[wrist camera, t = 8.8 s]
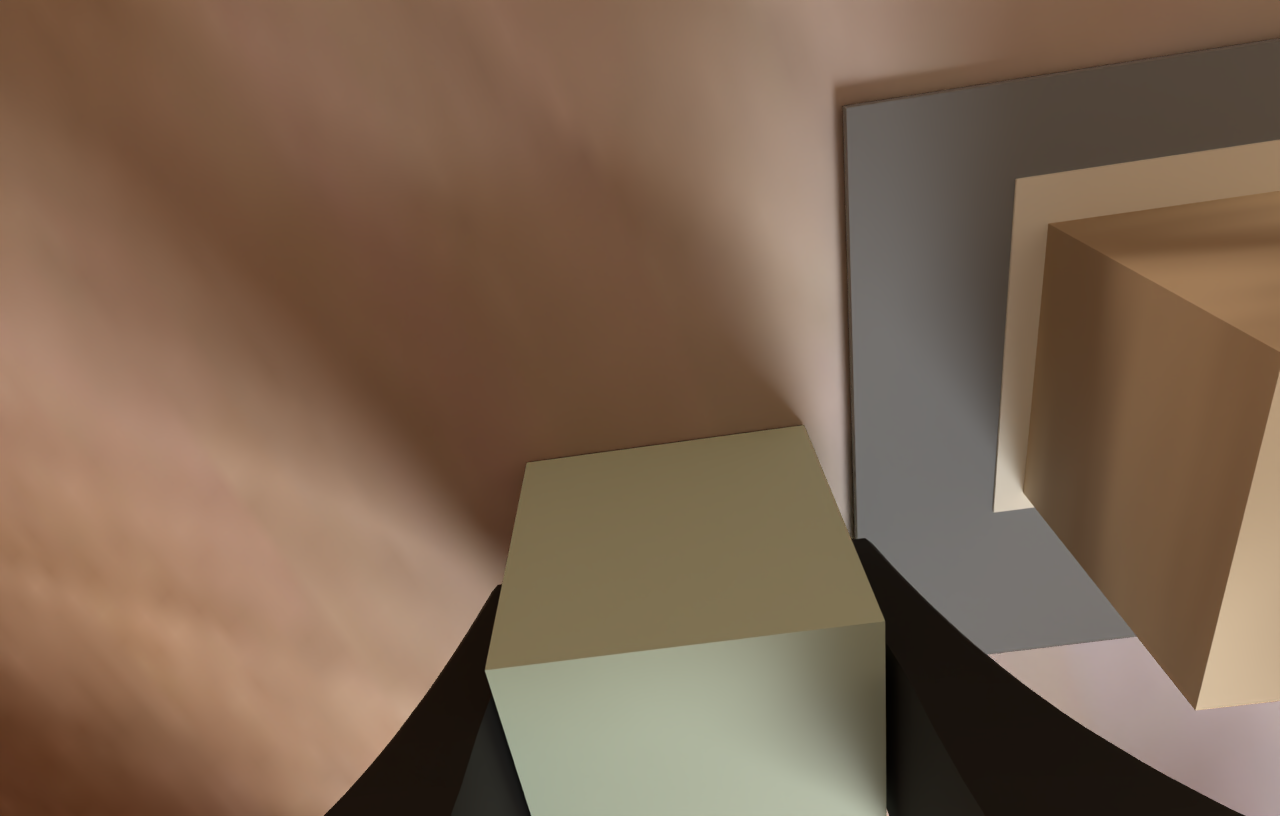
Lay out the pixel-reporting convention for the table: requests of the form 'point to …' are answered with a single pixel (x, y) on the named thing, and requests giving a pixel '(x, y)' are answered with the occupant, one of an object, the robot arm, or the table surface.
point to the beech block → (1169, 431)
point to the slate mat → (1008, 303)
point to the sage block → (690, 636)
